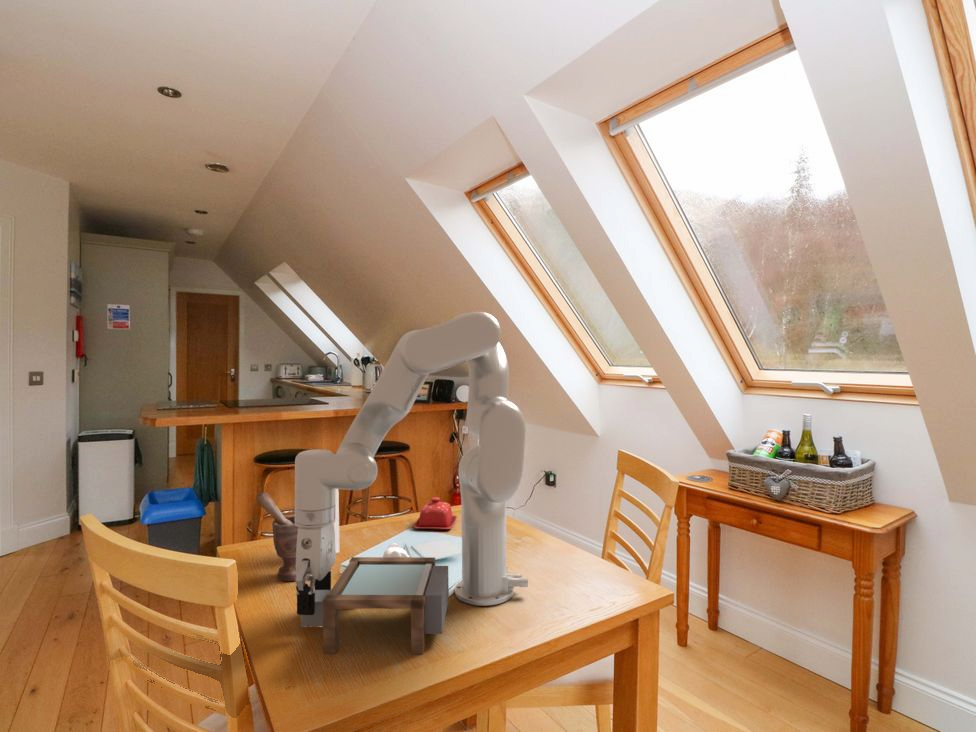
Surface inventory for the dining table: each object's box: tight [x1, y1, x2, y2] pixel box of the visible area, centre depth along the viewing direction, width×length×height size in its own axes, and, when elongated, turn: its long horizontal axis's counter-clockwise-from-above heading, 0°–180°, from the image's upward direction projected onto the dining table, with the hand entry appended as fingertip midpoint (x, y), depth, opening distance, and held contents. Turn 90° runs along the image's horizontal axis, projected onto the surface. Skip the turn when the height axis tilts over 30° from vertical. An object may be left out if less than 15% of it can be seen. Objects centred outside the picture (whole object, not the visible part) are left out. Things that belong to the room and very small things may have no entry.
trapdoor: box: [341, 564, 450, 635], centre depth 105 cm, size 18×15×7 cm
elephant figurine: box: [382, 543, 414, 557], centre depth 131 cm, size 7×8×6 cm
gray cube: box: [300, 589, 331, 628], centre depth 108 cm, size 5×5×5 cm
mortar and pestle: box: [256, 491, 311, 582], centre depth 128 cm, size 12×9×20 cm
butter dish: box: [413, 496, 458, 530], centre depth 164 cm, size 12×12×8 cm
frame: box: [322, 556, 436, 655], centre depth 105 cm, size 17×19×10 cm
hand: (314, 602), depth 108 cm, fingers open, 9 cm apart
